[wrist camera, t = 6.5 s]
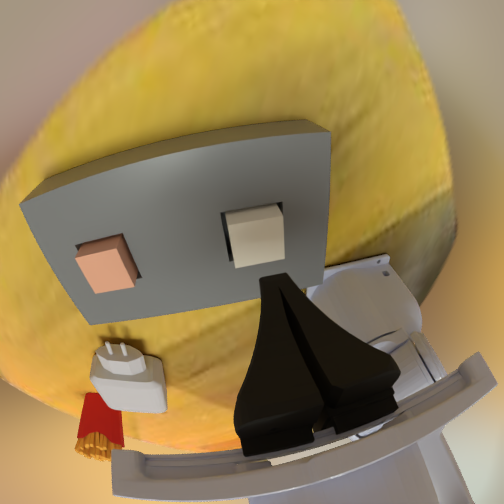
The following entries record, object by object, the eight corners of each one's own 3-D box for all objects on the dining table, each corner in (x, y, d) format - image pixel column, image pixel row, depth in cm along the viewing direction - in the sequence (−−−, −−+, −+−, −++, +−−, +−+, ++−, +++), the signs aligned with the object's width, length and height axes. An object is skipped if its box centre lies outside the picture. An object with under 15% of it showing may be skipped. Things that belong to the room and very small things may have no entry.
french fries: (121, 395, 36) (120, 461, 27) (126, 404, 39) (126, 465, 29) (77, 390, 34) (71, 452, 25) (84, 399, 37) (80, 457, 27)
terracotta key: (126, 222, 17) (116, 248, 15) (140, 258, 19) (134, 286, 17) (88, 232, 17) (74, 258, 14) (104, 266, 19) (95, 293, 16)
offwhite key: (270, 193, 18) (283, 215, 16) (273, 233, 20) (284, 258, 17) (222, 201, 18) (227, 225, 15) (230, 241, 20) (235, 268, 17)
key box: (306, 119, 17) (330, 131, 14) (306, 254, 24) (322, 284, 21) (44, 179, 16) (19, 204, 12) (98, 292, 23) (90, 325, 20)
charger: (157, 327, 27) (166, 386, 36) (80, 321, 25) (109, 381, 34) (156, 364, 24) (167, 413, 32) (71, 356, 21) (106, 408, 30)
